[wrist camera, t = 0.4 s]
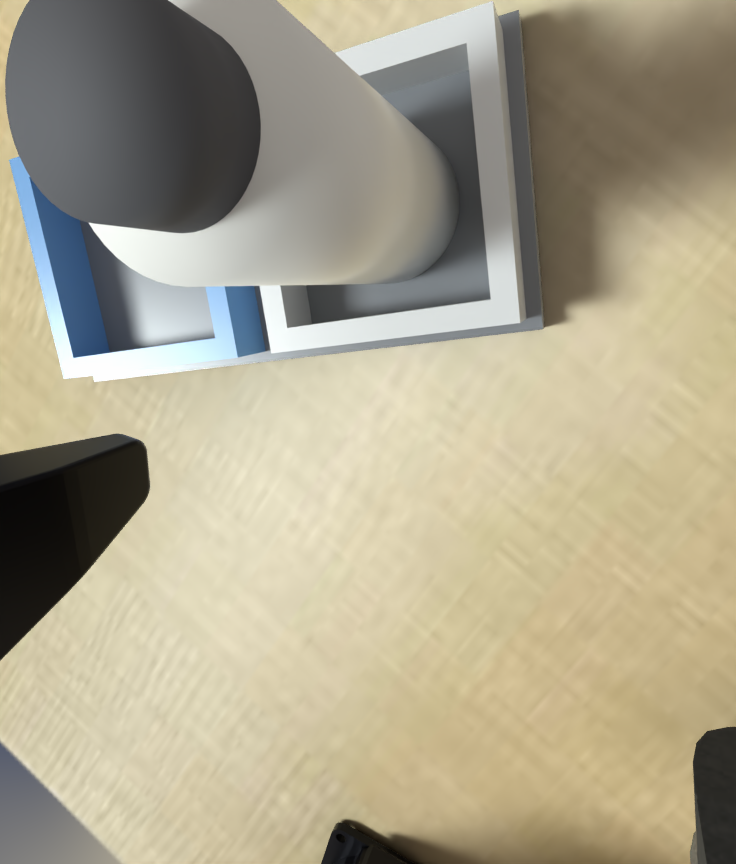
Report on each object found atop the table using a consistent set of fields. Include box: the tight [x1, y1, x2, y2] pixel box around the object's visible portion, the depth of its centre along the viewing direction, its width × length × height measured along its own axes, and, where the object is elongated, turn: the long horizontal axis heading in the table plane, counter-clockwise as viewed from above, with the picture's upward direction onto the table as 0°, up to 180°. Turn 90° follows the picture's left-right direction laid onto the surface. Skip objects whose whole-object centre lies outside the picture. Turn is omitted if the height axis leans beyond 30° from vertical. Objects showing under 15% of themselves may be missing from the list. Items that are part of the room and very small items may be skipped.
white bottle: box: [5, 0, 459, 287], centre depth 14 cm, size 5×5×13 cm
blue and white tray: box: [9, 1, 545, 382], centre depth 21 cm, size 20×9×3 cm, turn 99°
